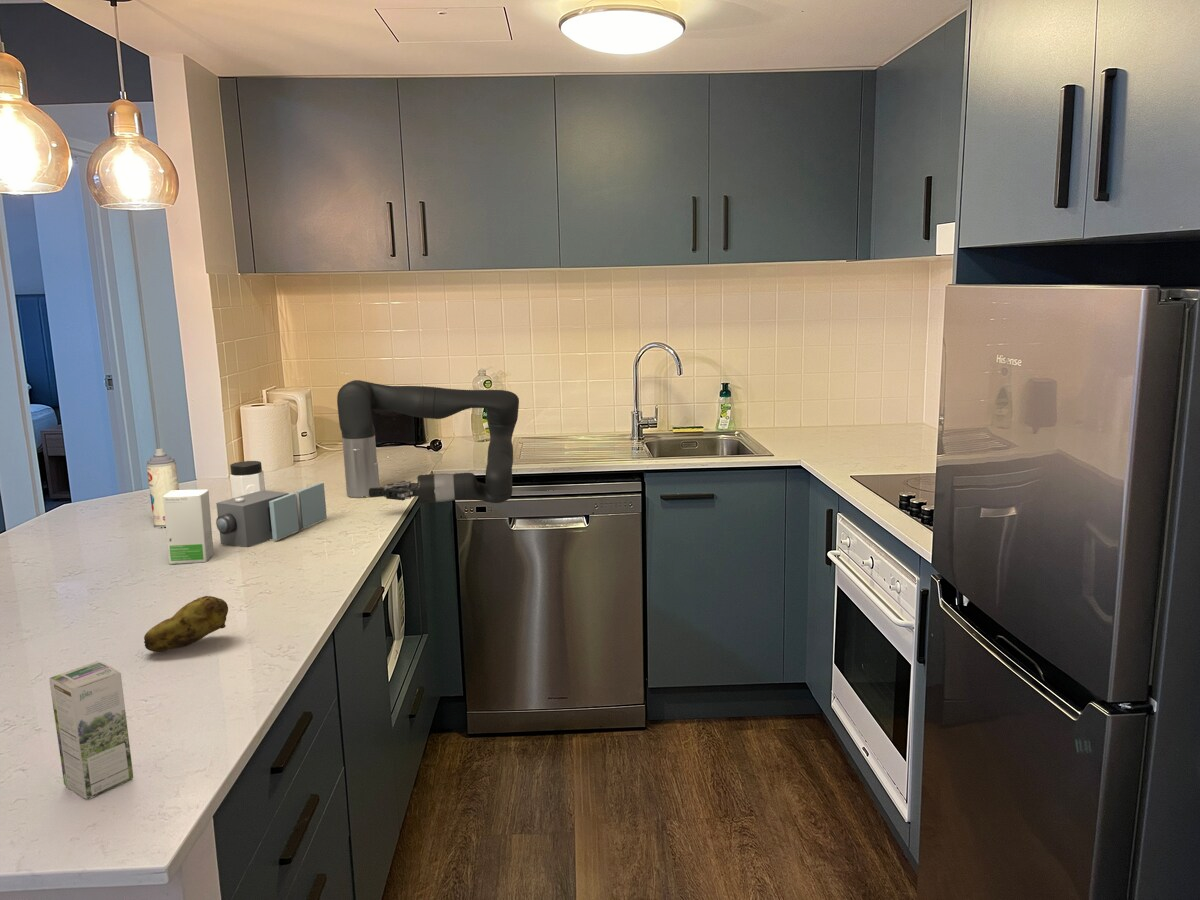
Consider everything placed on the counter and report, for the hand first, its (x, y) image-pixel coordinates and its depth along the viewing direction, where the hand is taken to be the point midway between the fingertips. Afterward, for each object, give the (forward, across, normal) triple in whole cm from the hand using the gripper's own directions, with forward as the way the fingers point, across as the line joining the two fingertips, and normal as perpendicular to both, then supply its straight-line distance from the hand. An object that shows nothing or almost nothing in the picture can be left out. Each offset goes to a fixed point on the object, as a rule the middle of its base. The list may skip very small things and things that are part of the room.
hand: (369, 492), depth 228 cm
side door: (+17, +9, +7) cm, 20 cm away
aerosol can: (+52, -8, +7) cm, 53 cm away
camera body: (+27, +13, +7) cm, 30 cm away
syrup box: (+23, +122, +7) cm, 125 cm away
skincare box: (+37, +26, +7) cm, 46 cm away
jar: (+35, -24, +7) cm, 43 cm away
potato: (+24, +79, +7) cm, 83 cm away
